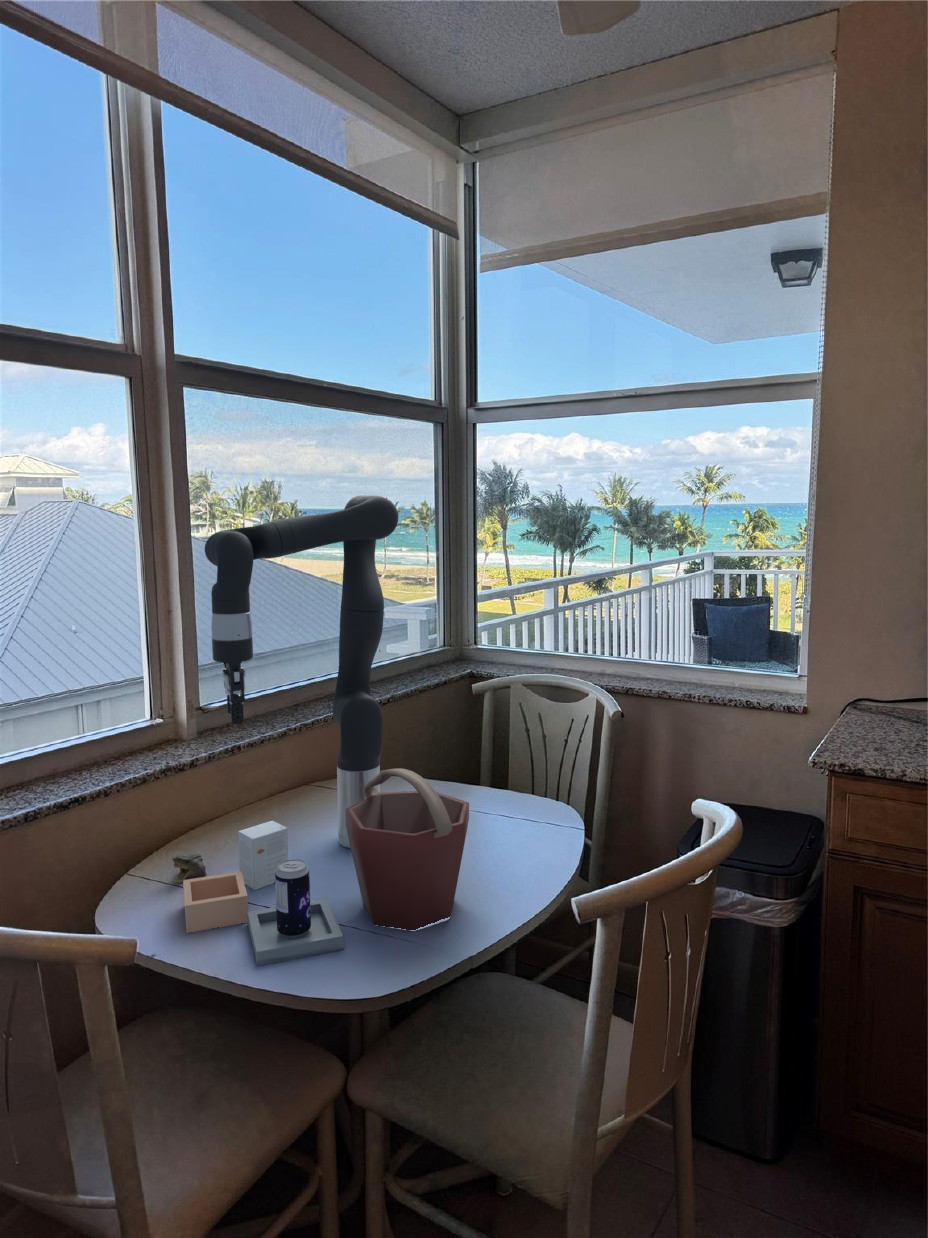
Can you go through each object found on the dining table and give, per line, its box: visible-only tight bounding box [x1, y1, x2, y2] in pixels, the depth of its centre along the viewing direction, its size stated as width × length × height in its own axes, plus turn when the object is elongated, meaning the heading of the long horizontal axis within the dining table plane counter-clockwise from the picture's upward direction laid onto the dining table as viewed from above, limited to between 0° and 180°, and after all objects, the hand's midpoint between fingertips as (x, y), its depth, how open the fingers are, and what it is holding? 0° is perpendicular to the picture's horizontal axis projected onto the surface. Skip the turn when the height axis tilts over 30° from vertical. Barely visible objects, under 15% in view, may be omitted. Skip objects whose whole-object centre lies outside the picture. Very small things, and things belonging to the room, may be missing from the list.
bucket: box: [345, 767, 470, 930], centre depth 149 cm, size 24×22×25 cm
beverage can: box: [274, 858, 311, 938], centre depth 139 cm, size 6×6×12 cm
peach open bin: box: [182, 871, 249, 934], centre depth 148 cm, size 10×10×5 cm
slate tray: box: [247, 898, 345, 967], centre depth 140 cm, size 14×14×2 cm
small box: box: [237, 820, 290, 891], centre depth 161 cm, size 8×6×10 cm
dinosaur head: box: [171, 853, 207, 884], centre depth 162 cm, size 8×6×7 cm
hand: (235, 718), depth 160 cm, fingers open, 8 cm apart
